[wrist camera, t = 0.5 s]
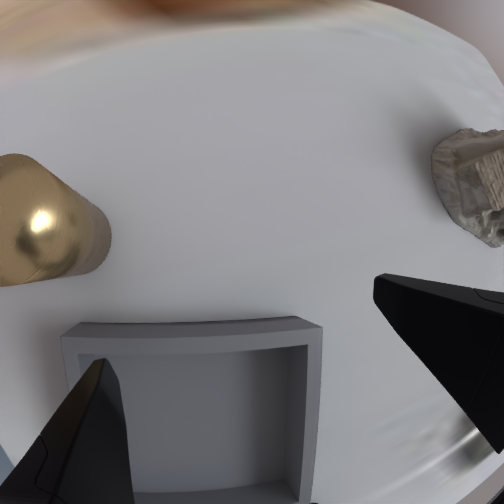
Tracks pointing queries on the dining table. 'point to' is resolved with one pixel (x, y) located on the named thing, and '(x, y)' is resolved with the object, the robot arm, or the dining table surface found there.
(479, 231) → the ceramic cottage
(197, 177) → the dining table surface
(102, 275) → the dining table surface
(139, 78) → the dining table surface
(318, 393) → the charcoal bin
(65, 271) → the brass canister
